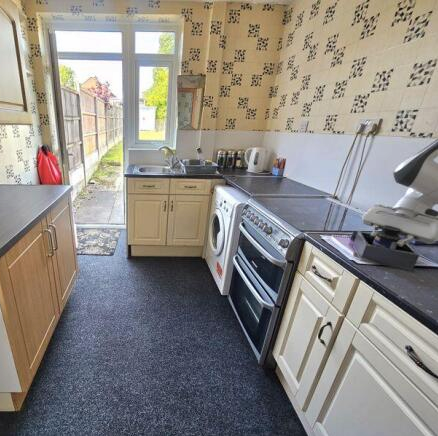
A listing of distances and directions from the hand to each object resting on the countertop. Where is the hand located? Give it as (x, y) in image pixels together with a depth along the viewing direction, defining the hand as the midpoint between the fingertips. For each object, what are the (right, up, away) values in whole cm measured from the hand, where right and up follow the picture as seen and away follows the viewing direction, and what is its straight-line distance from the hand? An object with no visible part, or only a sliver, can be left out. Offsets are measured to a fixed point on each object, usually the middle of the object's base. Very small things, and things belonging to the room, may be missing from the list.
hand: (385, 241), depth 87 cm
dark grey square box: (0, -7, +3) cm, 7 cm away
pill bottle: (0, -6, +3) cm, 6 cm away
